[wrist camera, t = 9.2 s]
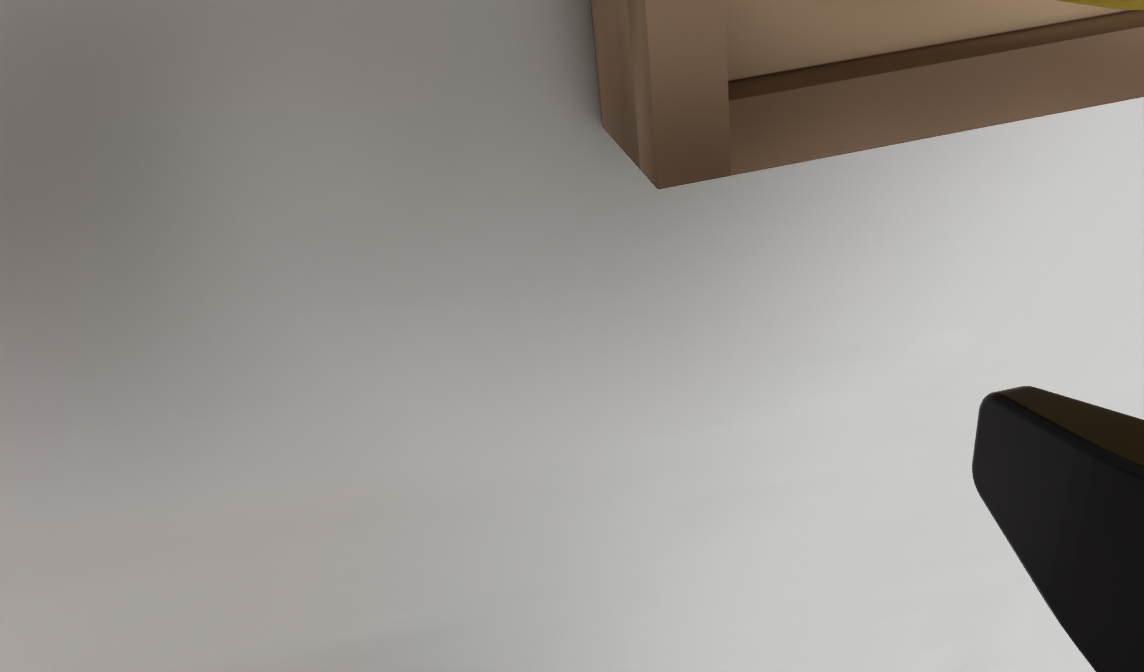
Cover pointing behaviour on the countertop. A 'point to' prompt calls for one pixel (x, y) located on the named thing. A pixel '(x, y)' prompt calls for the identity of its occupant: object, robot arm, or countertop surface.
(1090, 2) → the lemon
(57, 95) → the countertop surface
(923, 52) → the walnut base
